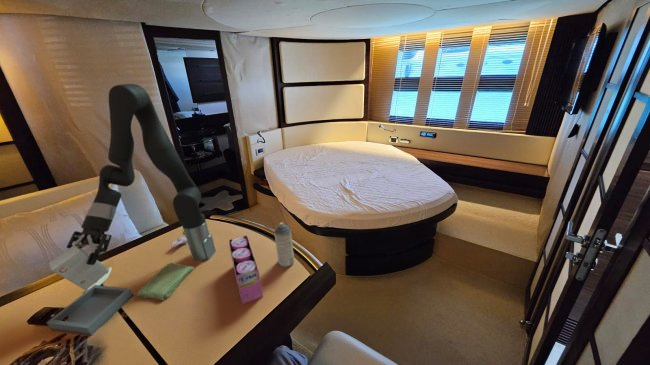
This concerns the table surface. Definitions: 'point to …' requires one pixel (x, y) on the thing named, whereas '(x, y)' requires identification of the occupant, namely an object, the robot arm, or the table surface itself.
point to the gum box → (245, 270)
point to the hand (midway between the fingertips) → (80, 263)
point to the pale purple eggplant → (179, 241)
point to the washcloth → (165, 281)
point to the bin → (91, 310)
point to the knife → (101, 279)
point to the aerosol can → (284, 245)
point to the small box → (78, 267)
